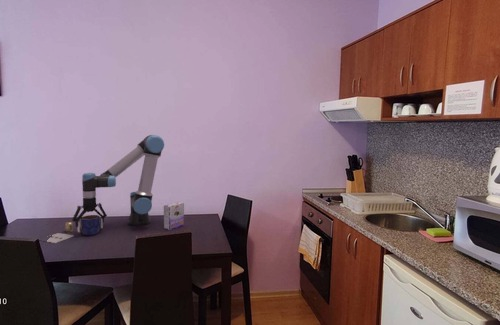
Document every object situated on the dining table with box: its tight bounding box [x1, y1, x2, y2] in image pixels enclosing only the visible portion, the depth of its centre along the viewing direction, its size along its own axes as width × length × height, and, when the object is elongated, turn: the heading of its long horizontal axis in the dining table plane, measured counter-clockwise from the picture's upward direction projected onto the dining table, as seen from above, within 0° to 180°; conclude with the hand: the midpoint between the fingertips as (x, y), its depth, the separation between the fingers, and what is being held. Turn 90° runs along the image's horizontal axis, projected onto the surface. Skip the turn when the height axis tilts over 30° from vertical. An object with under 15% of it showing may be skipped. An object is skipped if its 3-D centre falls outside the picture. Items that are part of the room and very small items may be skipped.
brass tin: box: [65, 221, 74, 233], centre depth 212 cm, size 4×4×6 cm
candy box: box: [163, 201, 185, 231], centre depth 224 cm, size 14×6×16 cm, turn 145°
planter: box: [80, 214, 101, 237], centre depth 208 cm, size 11×11×11 cm
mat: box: [46, 232, 75, 244], centre depth 199 cm, size 14×14×1 cm
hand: (90, 229), depth 208 cm, fingers open, 13 cm apart
